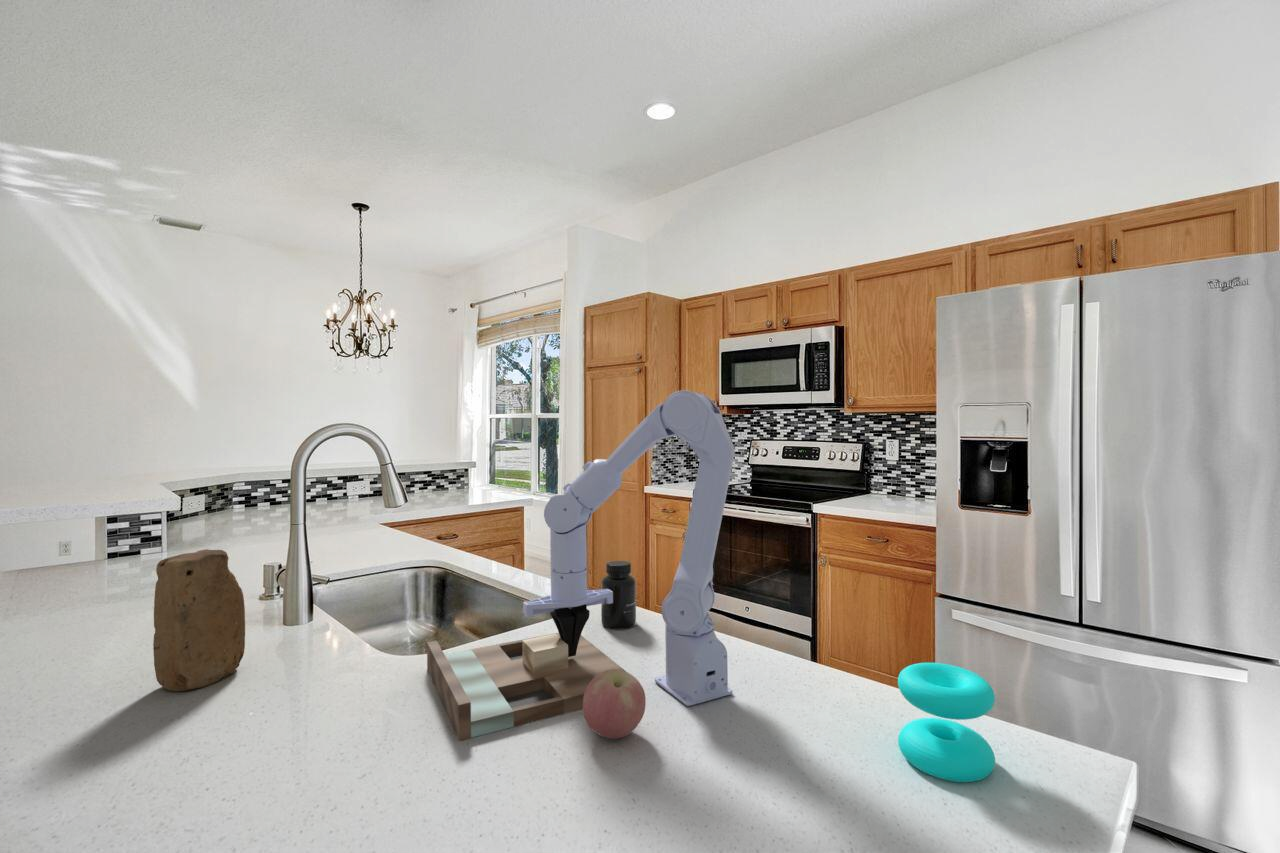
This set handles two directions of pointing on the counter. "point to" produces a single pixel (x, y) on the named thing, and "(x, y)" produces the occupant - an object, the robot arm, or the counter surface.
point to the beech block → (545, 654)
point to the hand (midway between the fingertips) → (569, 654)
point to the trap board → (508, 685)
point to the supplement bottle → (619, 596)
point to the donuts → (946, 721)
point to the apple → (614, 703)
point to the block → (197, 620)
